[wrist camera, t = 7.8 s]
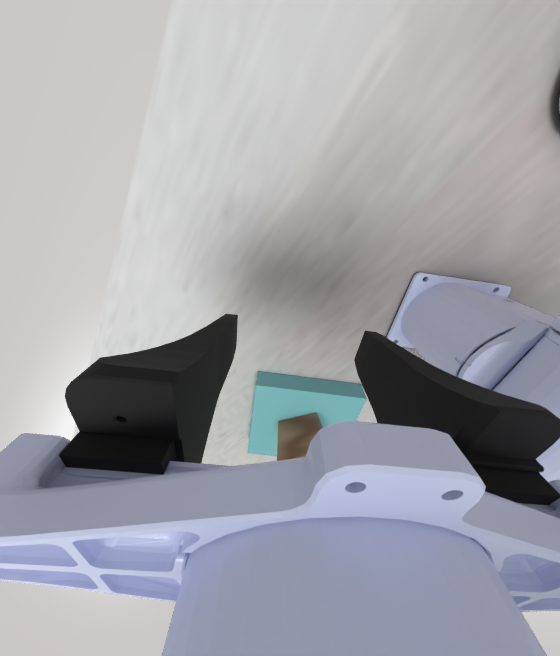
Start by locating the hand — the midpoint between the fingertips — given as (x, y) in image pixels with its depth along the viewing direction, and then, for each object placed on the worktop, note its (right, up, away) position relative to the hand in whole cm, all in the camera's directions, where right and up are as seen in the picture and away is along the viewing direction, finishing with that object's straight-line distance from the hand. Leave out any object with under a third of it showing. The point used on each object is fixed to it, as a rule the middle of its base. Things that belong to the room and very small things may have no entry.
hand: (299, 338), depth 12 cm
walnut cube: (+2, -12, +16) cm, 20 cm away
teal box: (+2, -11, +19) cm, 22 cm away
